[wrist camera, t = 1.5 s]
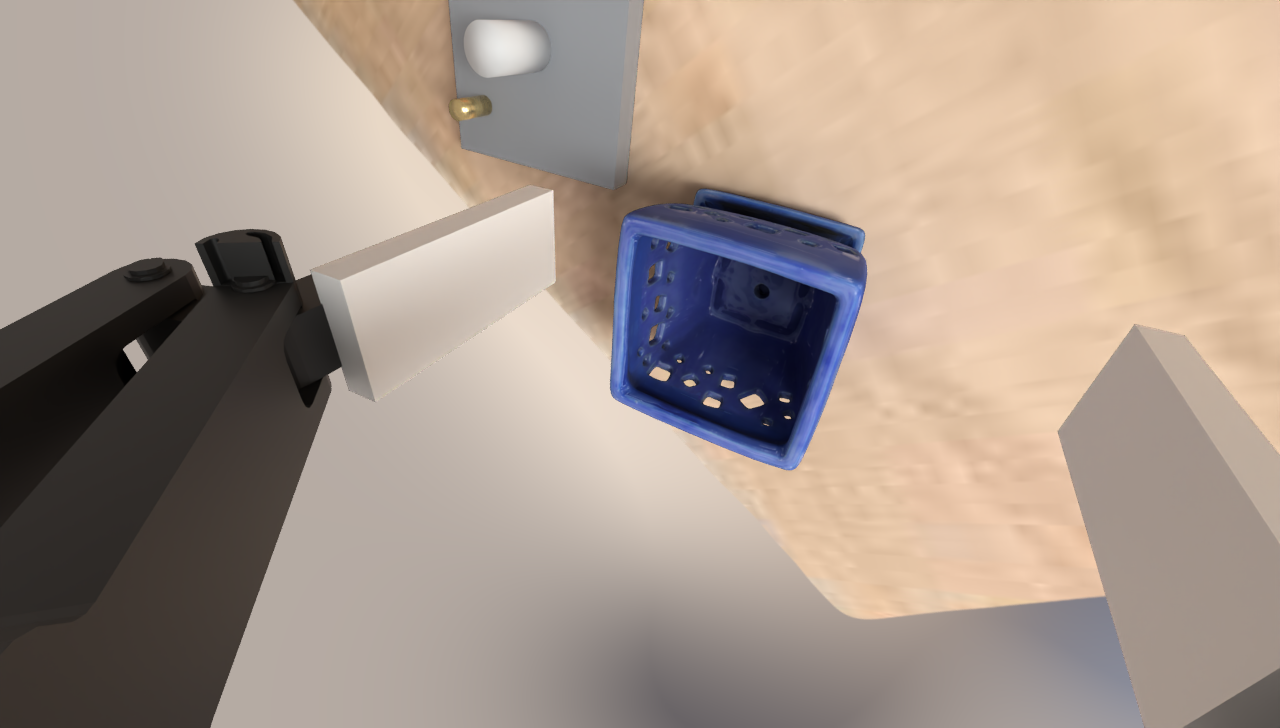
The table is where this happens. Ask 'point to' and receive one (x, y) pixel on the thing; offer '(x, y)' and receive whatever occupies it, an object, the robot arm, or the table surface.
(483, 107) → the dowel pin
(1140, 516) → the robot arm
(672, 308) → the flower pot
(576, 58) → the post base
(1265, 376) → the table surface
